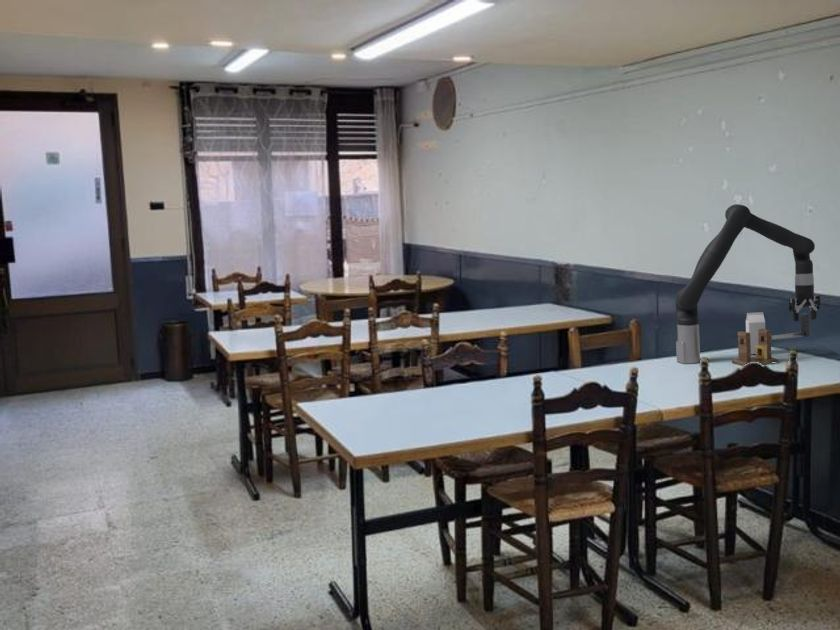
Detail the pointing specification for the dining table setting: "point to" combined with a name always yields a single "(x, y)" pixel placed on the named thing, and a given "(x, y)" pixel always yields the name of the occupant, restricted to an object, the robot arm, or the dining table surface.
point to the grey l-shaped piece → (803, 332)
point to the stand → (745, 348)
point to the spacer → (758, 351)
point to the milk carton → (754, 327)
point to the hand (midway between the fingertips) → (805, 320)
